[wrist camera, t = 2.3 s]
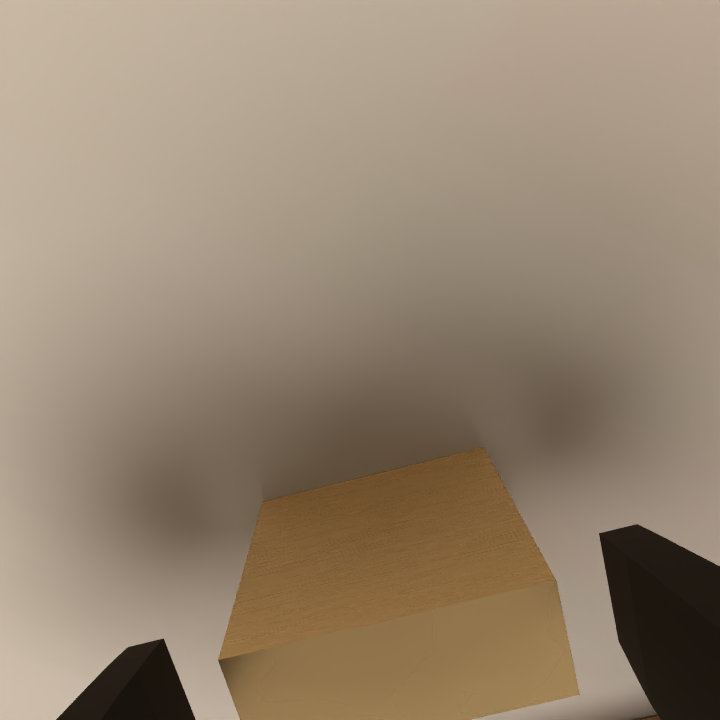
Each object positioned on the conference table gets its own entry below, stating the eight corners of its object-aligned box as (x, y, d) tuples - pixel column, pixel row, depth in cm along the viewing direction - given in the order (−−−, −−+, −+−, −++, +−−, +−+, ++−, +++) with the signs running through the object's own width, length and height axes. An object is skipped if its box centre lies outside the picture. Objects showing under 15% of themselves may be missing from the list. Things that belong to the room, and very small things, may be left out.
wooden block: (483, 446, 14) (556, 579, 9) (501, 526, 14) (579, 694, 9) (263, 501, 14) (218, 660, 9) (288, 578, 15) (257, 767, 10)
